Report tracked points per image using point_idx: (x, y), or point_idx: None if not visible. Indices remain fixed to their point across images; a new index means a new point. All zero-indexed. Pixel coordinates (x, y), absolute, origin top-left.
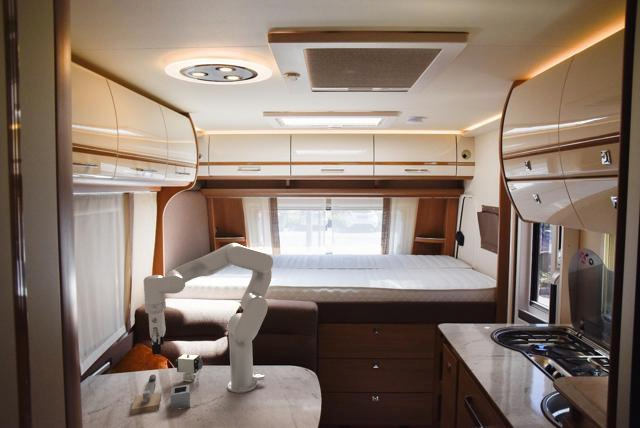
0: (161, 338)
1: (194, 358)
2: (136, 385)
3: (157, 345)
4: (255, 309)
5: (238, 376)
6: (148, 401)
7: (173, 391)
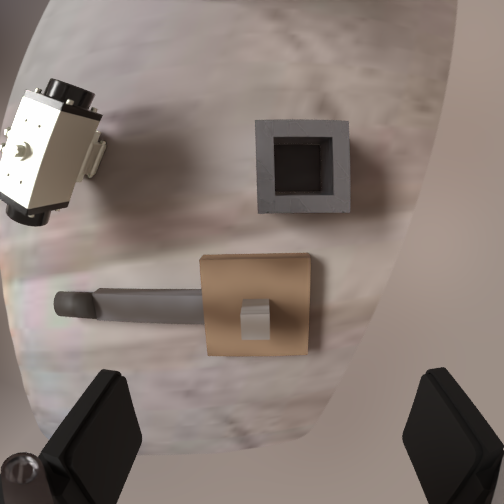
0: (96, 443)
1: (50, 108)
2: (94, 350)
3: (498, 458)
4: None
5: None
6: (269, 303)
7: (312, 199)
